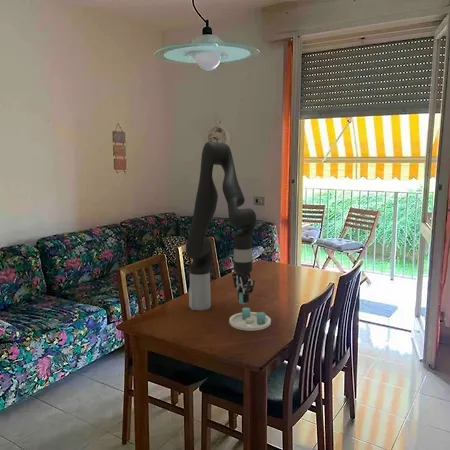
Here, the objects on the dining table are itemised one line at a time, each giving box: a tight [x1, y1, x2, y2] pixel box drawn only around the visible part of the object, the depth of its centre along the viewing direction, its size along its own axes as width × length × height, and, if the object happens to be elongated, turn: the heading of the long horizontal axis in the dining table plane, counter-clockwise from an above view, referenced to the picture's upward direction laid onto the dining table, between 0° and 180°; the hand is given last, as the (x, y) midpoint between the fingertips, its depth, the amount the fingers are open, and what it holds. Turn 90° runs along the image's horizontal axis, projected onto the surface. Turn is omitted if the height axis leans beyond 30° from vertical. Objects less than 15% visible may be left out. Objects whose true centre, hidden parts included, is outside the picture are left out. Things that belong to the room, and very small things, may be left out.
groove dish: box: [228, 311, 272, 332], centre depth 176 cm, size 17×17×2 cm
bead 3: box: [256, 311, 266, 325], centre depth 175 cm, size 4×4×4 cm
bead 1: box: [238, 292, 249, 305], centre depth 171 cm, size 4×4×4 cm
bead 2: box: [241, 307, 251, 320], centre depth 180 cm, size 4×4×4 cm
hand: (243, 300), depth 171 cm, fingers closed on bead 1, 3 cm apart
